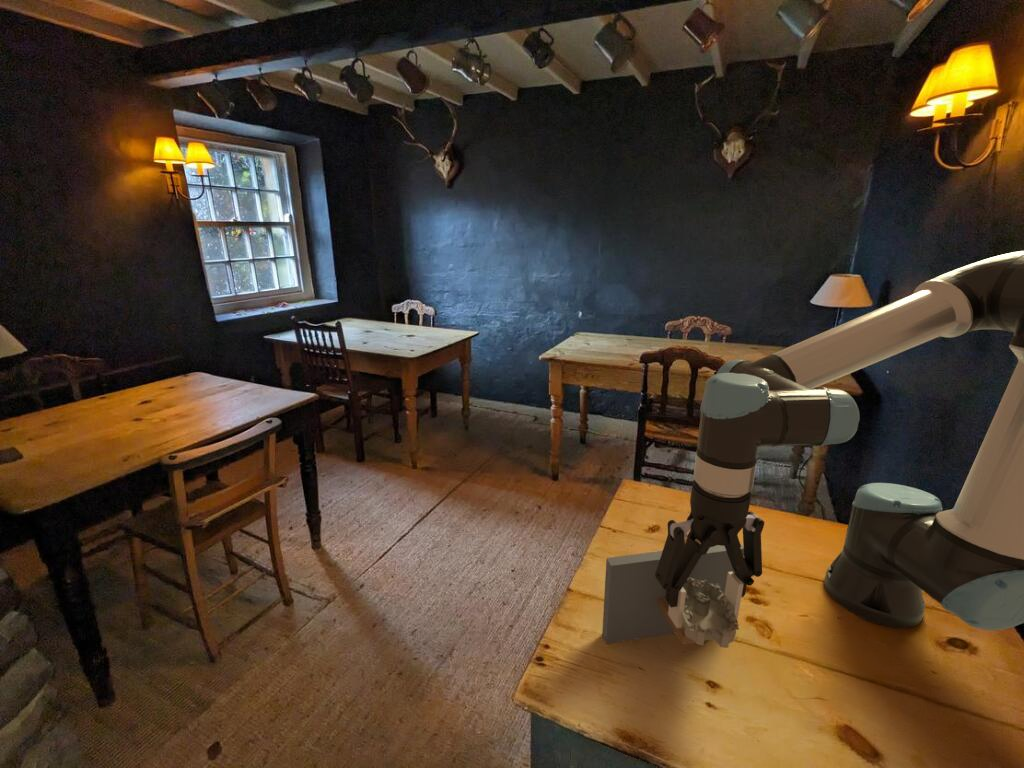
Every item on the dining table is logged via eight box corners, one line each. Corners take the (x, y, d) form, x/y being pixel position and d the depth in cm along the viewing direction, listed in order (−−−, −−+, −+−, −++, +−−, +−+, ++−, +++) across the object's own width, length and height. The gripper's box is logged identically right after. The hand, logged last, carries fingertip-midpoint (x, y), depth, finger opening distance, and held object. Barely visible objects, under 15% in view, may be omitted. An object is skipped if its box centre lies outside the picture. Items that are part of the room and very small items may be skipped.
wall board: (726, 615, 85) (737, 541, 80) (763, 661, 75) (778, 580, 71) (602, 634, 81) (606, 557, 76) (624, 685, 72) (631, 602, 67)
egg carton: (738, 652, 64) (742, 629, 63) (681, 643, 66) (684, 621, 65) (721, 597, 74) (724, 576, 73) (672, 590, 76) (674, 570, 75)
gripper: (771, 466, 69) (749, 590, 76) (637, 478, 65) (626, 607, 72) (810, 491, 62) (782, 626, 68) (662, 506, 58) (648, 647, 65)
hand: (702, 616), depth 70 cm, fingers closed on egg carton, 8 cm apart
